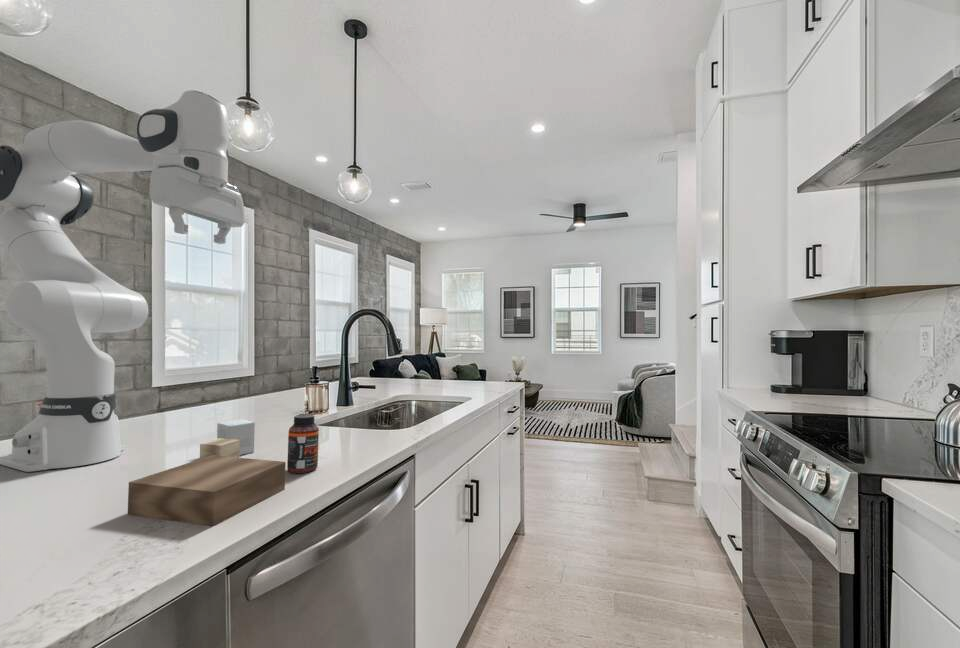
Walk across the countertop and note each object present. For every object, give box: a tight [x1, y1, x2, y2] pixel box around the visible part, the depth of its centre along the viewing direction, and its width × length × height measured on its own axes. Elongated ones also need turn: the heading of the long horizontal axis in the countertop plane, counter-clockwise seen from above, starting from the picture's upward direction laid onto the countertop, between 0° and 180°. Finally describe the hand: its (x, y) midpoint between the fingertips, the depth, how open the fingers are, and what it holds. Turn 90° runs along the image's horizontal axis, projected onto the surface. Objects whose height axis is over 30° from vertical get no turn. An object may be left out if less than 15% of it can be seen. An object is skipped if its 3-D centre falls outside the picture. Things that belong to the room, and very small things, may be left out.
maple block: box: [199, 438, 240, 459], centre depth 91 cm, size 5×5×6 cm
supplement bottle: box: [286, 413, 320, 474], centre depth 92 cm, size 6×6×11 cm
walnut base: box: [127, 455, 286, 527], centre depth 74 cm, size 16×16×5 cm
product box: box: [216, 418, 256, 456], centre depth 104 cm, size 6×6×7 cm
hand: (201, 238), depth 91 cm, fingers open, 8 cm apart
